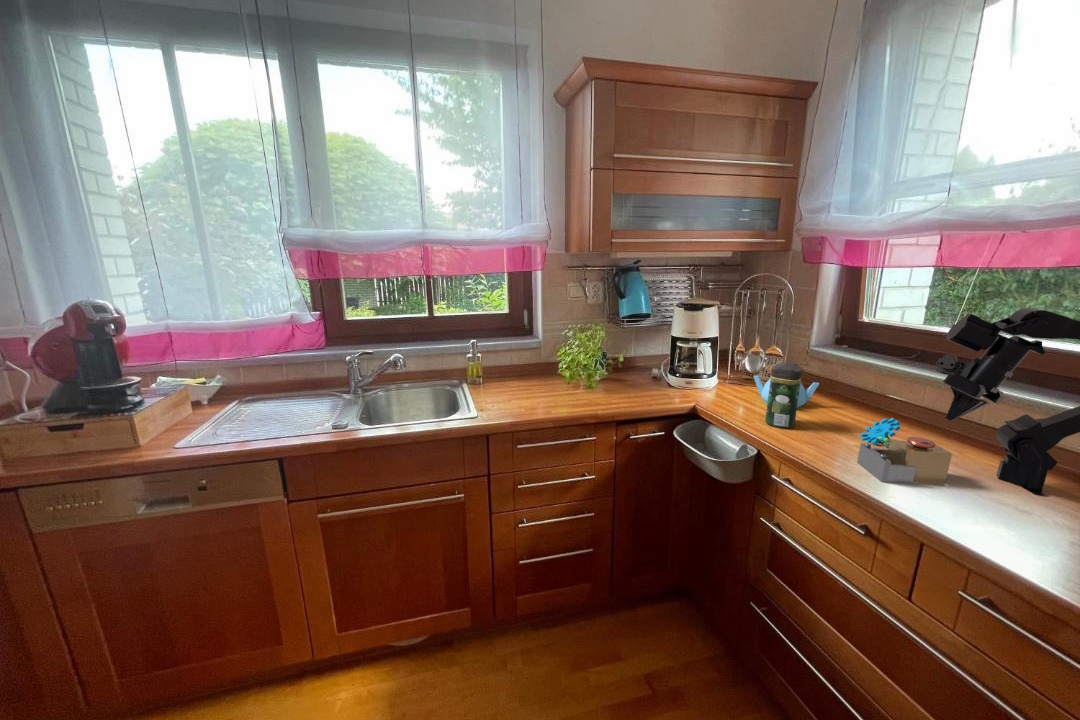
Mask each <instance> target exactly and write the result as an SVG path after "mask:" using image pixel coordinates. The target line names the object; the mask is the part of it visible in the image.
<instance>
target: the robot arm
mask: <svg viewBox="0 0 1080 720" xmlns="http://www.w3.org/2000/svg"><path fill="white" fill-rule="evenodd" d="M1001 332H1002V333H1005V334H1008V335H1010V337H1007V336H1004V335H1002V334H1000V333H1001ZM1020 335H1021V336H1026V337H1029V338H1034V339H1035V340H1028V339H1026V338H1023V337H1021V336H1020ZM945 338H946V341H949V342H951V343H954V344H956V345H958V346H961V347H963V348H966V349H968V350H971V351H973V352H974V353H975V352H979V351H981V350H982V351H985V350H986V351H985V352H984V353H983V355H982V356H981V357H980V358H978V357H976V358H973V359H972V360H971V362H966V361H960V360H959V359H958V358H957V356H955V355H952V354H945V355H944V356H943V357H942V358H938V361H936V362H935V365H937V366H936V369H935V372H936V373H939V374H944V375H947V376H946V377H945V378H944V379H943V381H942V383H944V384H946V385H948V386H950V387H949V388H950V390H951V391H952V394H953V398H952V402H951V403H950V407H949V408H948V409H949V410H948V411H947V414H946V416H945V419H947V420H948V421H951V422H952V421H955V420H957V419H959V418H961V417H963V416H965V415H967V414H969V413H972V412H974V411H976V410H979V409H980V408H982V407H984V406H989V404H991V403H990V402H988V401H992V403H994V404H997V405H999V404H1000V403H1001V402H1002V401H1003V400H1004V399H1005V395H1004V392H1003V391H1001V390H1000V388H999V387H1000V386H1001V385H1002V384H1003V383H1004V381H1005V380H1007V378H1012V376H1013V375H1014V373H1013V371H1014V370H1015V369H1016V368H1017V366H1019V364H1021V362H1022V361H1023V360H1024V358H1026V357H1027V355H1028V354H1029V353H1030V352H1033V353H1035V354H1040V355H1045V354H1046V351H1045V348H1044V347H1043V341H1041V340H1038V339H1050V340H1061V339H1062V340H1077V341H1078V340H1079V341H1080V320H1079V319H1078V320H1077V319H1074V318H1071V317H1068V316H1065V315H1061V314H1059V313H1055V312H1052V311H1049V310H1044V309H1039V308H1035V307H1023V308H1021V309H1018V310H1016V311H1015V312H1013V313H1012V314H1011V315H1010V316H1008V317H1006V318H1003V319H1000V320H997V321H994V322H989V321H987V320H985V319H982V318H980V317H979V316H977V315H975V314H973V313H966V314H965V316H963V318H961V319H960V320H958V321H957V322H956V323H955V324H953V325H952V326H951V327H950V329H949V330H948V332H947V334H946V337H945ZM984 398H985V399H987V400H988V401H986V400H984ZM1079 433H1080V405H1079V406H1076V407H1073V408H1071V409H1068V410H1065V411H1062V412H1059V413H1056V414H1054V415H1051V416H1048V417H1045V418H1034V417H1032V416H1031V415H1029V414H1023V415H1021V416H1019V417H1017V418H1014V419H1012V420H1005V421H1004V424H1003V425H1002V426H1000V427H998V428H997V432H996V440H997V441H998V443H1000V444H1001V445H1002V446H1003V449H1004V451H1005V452H1006V453H1007V454H1005V456H1004V459H1003V460H999V463H998V467H997V468H998V469H997V472H996V477H997V479H998V480H999V481H1002V482H1005V483H1009V484H1011V485H1014V486H1017V487H1020V488H1022V489H1024V490H1026V491H1028V492H1030V493H1031V494H1034V495H1039V496H1045V492H1044V490H1043V489H1044V485H1045V482H1046V478H1047V475H1048V472H1049V471H1051V470H1052V469H1053V468H1054V467H1056V465H1057V464H1058V461H1057V460H1056V459H1055V458H1054V457H1053V456H1052V455H1051V454H1050V453H1049V452H1048V451H1050V450H1053V449H1054V448H1055V447H1056V446H1057V445H1058V444H1059V443H1060V442H1062V440H1064V439H1066V438H1067V437H1070V436H1073V435H1076V434H1079Z"/></svg>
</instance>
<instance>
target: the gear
mask: <svg viewBox="0 0 1080 720" xmlns="http://www.w3.org/2000/svg"><path fill="white" fill-rule="evenodd" d="M872 425H873V426H872V427H871V426H866V427H865V430H866V431H863V432H862V433H861V434H860V436H861V438H860V441H862V442H863V441H865V442H866V443H868V444H870V443H871V445H873V446H877V445H878V444H879V443H883V445H884V447H887V448H889V443H890V440H891V438H893V437H894V436H896V435H897V434H896V433H895V432H898V431H900V429H901V427H900V425H901V422H900V421H899V420H896V419H895V418H893V417H891V418H890V419H888V418H883V419H881V421H880V423H879V421H874V422H873V423H872ZM893 430H894V431H895V432H894V431H893ZM889 436H890V437H891V438H890V437H889ZM879 441H880V442H879Z"/></svg>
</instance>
